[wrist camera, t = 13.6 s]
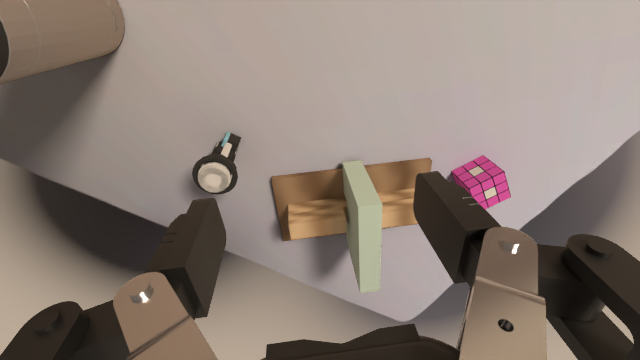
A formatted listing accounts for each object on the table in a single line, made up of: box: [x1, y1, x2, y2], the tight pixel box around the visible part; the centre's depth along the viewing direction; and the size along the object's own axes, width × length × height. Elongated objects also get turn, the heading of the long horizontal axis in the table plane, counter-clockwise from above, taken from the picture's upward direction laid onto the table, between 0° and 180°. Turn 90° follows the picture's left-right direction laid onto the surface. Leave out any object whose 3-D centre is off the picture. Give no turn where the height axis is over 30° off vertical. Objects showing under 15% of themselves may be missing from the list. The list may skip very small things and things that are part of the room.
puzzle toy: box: [452, 156, 511, 209], centre depth 49 cm, size 6×6×6 cm
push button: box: [192, 132, 241, 194], centre depth 40 cm, size 7×5×10 cm
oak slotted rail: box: [271, 158, 432, 241], centre depth 49 cm, size 26×13×6 cm, turn 95°
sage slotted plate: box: [342, 160, 382, 293], centre depth 45 cm, size 16×3×12 cm, turn 5°
